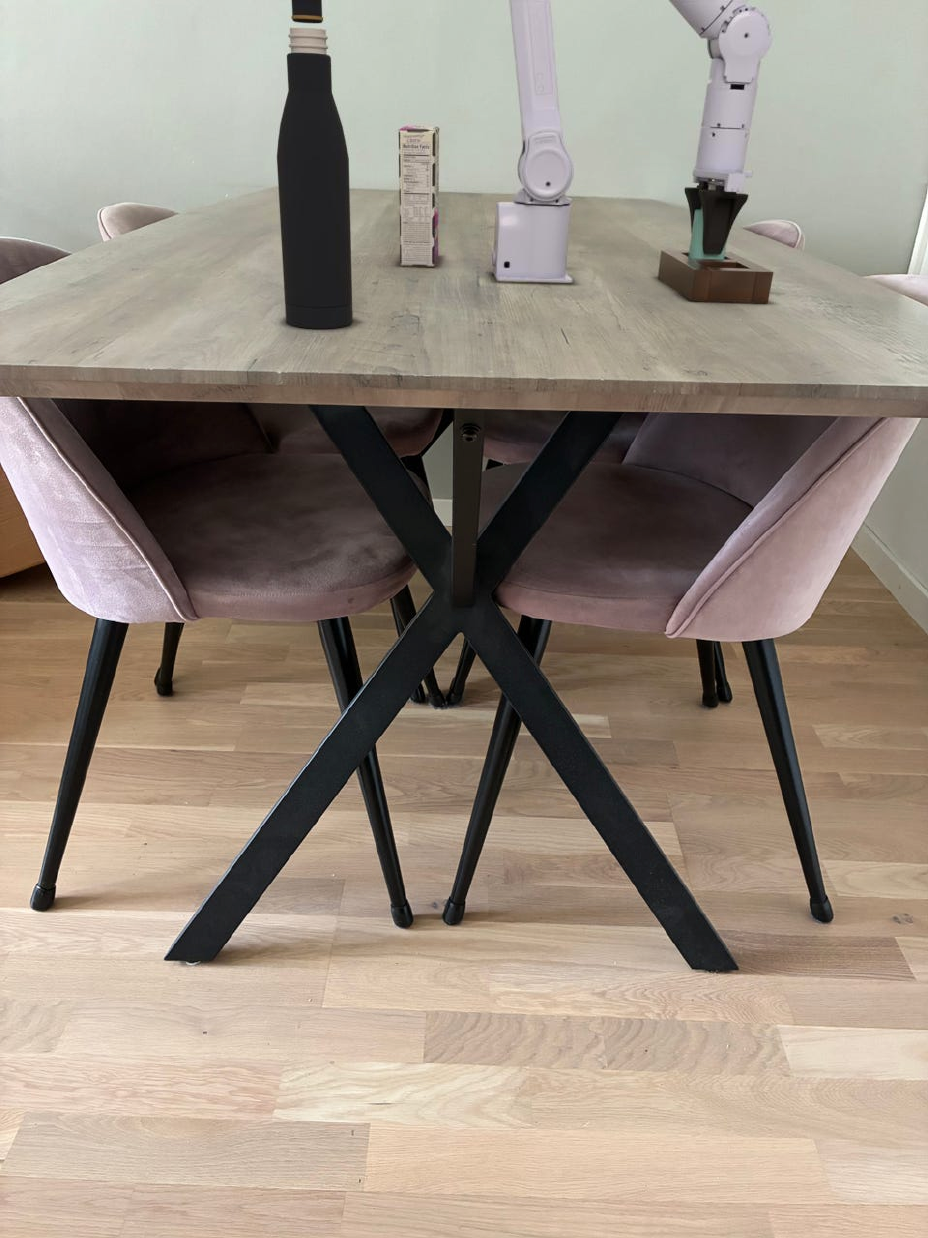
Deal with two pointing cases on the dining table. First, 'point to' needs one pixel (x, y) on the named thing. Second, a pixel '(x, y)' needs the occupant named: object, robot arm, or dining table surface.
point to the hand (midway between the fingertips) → (706, 250)
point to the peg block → (715, 278)
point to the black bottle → (313, 184)
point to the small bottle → (701, 237)
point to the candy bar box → (419, 195)
